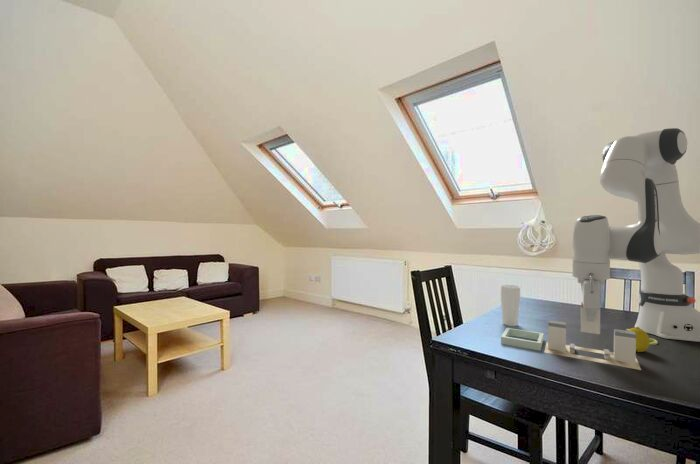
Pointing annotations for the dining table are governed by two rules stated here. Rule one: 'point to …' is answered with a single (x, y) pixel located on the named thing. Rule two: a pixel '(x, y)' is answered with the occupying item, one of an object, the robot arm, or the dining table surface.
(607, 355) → the clip jaws
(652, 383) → the dining table surface
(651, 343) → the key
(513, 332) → the tray
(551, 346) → the block
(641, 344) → the lemon
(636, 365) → the holder board
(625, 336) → the fuse
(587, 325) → the marked fuse
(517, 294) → the drinking glass
